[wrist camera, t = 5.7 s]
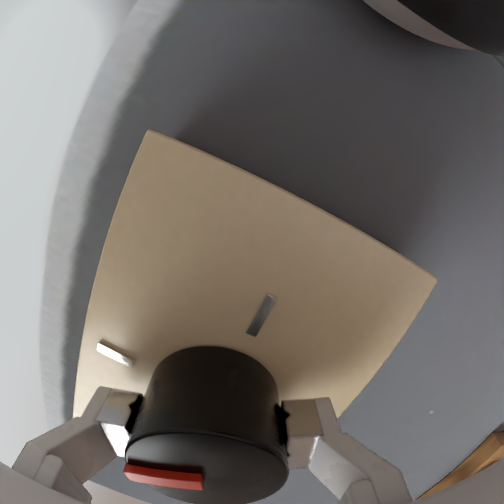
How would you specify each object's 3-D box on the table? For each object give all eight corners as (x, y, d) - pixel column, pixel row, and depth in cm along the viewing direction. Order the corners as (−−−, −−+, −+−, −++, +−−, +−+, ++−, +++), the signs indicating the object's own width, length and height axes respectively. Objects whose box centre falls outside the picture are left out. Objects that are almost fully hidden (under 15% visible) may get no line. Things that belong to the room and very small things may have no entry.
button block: (448, 493, 21) (458, 512, 17) (415, 500, 20) (424, 524, 16) (514, 431, 18) (529, 450, 14) (492, 432, 17) (509, 456, 13)
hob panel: (252, 455, 15) (254, 497, 12) (91, 396, 13) (70, 434, 10) (400, 253, 11) (442, 281, 8) (173, 138, 10) (145, 127, 7)
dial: (280, 343, 9) (299, 440, 5) (274, 431, 10) (284, 513, 6) (140, 341, 9) (96, 427, 5) (163, 428, 10) (145, 505, 6)
